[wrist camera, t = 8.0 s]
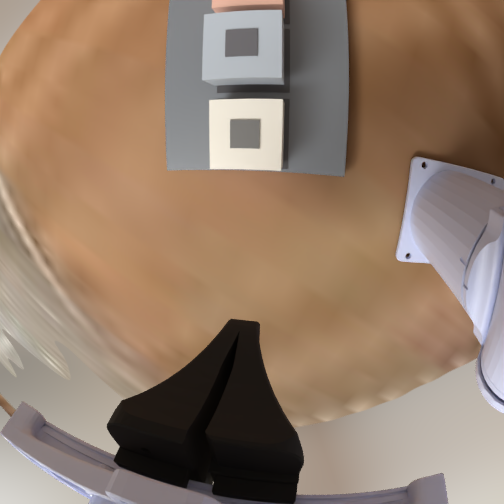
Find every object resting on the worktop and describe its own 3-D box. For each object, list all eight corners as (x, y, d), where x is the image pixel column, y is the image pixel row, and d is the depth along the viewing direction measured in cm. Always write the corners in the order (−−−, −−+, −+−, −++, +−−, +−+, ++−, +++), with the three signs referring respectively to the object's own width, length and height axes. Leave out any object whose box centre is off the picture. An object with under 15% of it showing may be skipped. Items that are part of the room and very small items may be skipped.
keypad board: (336, -59, 10) (337, -67, 9) (341, 173, 18) (344, 176, 17) (182, -52, 11) (177, -59, 10) (173, 167, 20) (166, 170, 19)
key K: (284, 24, 12) (281, 9, 10) (283, 84, 14) (281, 77, 12) (216, 27, 13) (203, 13, 11) (214, 85, 15) (201, 79, 12)
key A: (284, 102, 16) (282, 99, 13) (282, 165, 17) (280, 171, 15) (220, 102, 16) (208, 100, 14) (220, 163, 18) (209, 169, 16)
